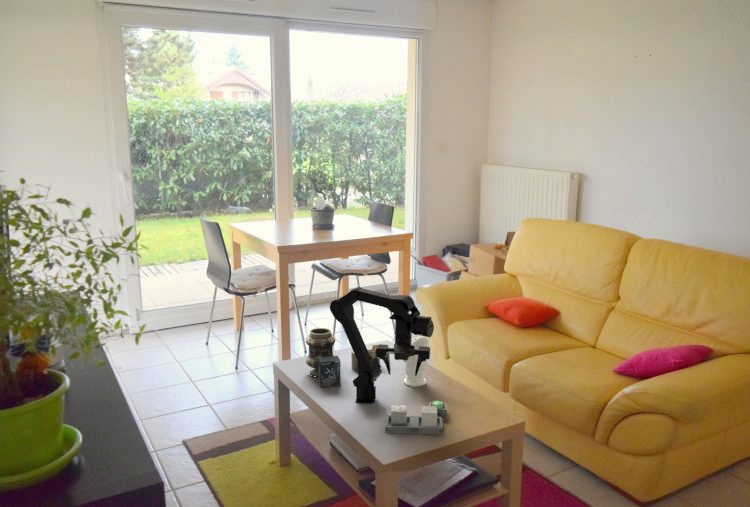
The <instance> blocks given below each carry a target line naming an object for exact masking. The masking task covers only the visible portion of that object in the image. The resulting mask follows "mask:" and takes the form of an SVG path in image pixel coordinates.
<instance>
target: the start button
mask: <svg viewBox="0 0 750 507" xmlns="http://www.w3.org/2000/svg"><path fill="white" fill-rule="evenodd" d="M432 402H433V403H432V406H437V409H443V401H441V400H434V401H432Z"/></svg>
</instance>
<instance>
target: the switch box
mask: <svg viewBox="0 0 750 507" xmlns="http://www.w3.org/2000/svg"><path fill="white" fill-rule="evenodd" d="M433 402H434V401H428V406H432V403H433ZM442 402H443V401H442ZM447 408H448V407H447V402H446V401H445V402H443V409H437V417H442V420H447V419H448V418H447V417H448V409H447Z"/></svg>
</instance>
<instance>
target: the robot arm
mask: <svg viewBox="0 0 750 507" xmlns="http://www.w3.org/2000/svg"><path fill="white" fill-rule="evenodd" d="M356 302H362V303H367V304H370V305H375V306H377V307H378V306H379V307H383V308H385V309H387V310H389V312H390V313H392V315H390V316H389V320H394V321H395V322H394V326H395V327H394V344H393V347H389V345H388V344H381V343H379V344H377V345H378V346H377V348H376V357H375V358H373V357H371V356H370V354H369V352H368V350H369V349H368V348H367V346H366V343H365V342H364V339H363V336H362V334H361V331H360V329H359V326H358V325H357V323H356V320H355V309H354V308H355V307H354V304H355V303H356ZM329 310H330V313H331V314H332V316H333V317H334V319H335V320H336V321H338V322H339V323H340V324H341V326H342V328H343V330H344V334H345V336H346V338H347V340H348V342H349V345H350V347H351V350H352V352H353V353H354V354H355V356H356V359H357V370H356V371H357V375H358V376H356V377H355V378H354V379H353V380H352V383H353V384H352V385H353V387H356V399H355V403H356V404H357V403H358V404H359V403H360V404H363V403H364V404H374V402H375V400H376V397H377V386H376V385H375V382H376V381H377V379H379V377H380V376H381V374H382V366H381V363H380V364H379V362H378V358H377V357H379V359H380V360H382V361H383V363H384V364H385V367H386V370H387V372H388V375H391V358H390V356H391V354H393V356H394V357H393V358H394V360H395V361H400V360H401V361H403V360H408V359H409V357H411V356H414V355H418V359H417V365H416V371H415V376H417V373H418V370H419V367H420V365H421V363H422V362H423V361H426V360H430V357H431V348H430V346H427V347H425V346H419V349H415V347H414V346H411V340H412V339H413V337H412V333H413V335H415V336H418V335H419V336H425V337H427V338H431V337H432V336H433V333H434V329H435V325H434V322H433V320H432V316H425V315H424V316H422V315H421V312H420V311H419V309H418V307H417V305H416V304H415V302H414V299H413V297H411V295H406V294H395V295H394V294H386V293H382V292H378V291H374V290H370V289H367V288H366V289H365V288H363V287H361V286H357V287H354V288H353V289H351V290H350V291H349V292H348V293H346V294H345V295H343V296H340V297H338V298H336V299H334V300H332V301H331V302H330V305H329ZM410 312H411V313H410Z"/></svg>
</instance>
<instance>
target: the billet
mask: <svg viewBox="0 0 750 507" xmlns="http://www.w3.org/2000/svg"><path fill="white" fill-rule="evenodd" d="M390 409H391V410H390V415H391V426H407V416H408V415H407V414H408V406H407V405H402V404H401V405H400V404H399V405H398V404H397V405H396V404H394V405H393V404H391V408H390Z"/></svg>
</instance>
